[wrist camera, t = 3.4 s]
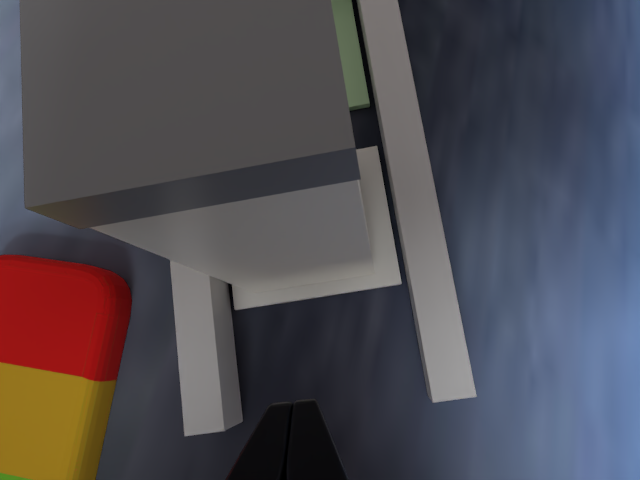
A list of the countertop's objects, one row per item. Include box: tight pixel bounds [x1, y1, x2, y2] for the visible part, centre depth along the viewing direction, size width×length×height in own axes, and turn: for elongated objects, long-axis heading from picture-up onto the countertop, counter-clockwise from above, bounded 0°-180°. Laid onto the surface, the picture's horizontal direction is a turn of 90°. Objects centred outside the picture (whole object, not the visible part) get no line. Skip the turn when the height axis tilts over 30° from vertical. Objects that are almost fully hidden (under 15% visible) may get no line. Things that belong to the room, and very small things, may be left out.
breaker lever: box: [20, 0, 375, 293], centre depth 12 cm, size 4×4×11 cm
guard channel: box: [170, 0, 477, 436], centre depth 18 cm, size 16×8×2 cm, turn 8°
